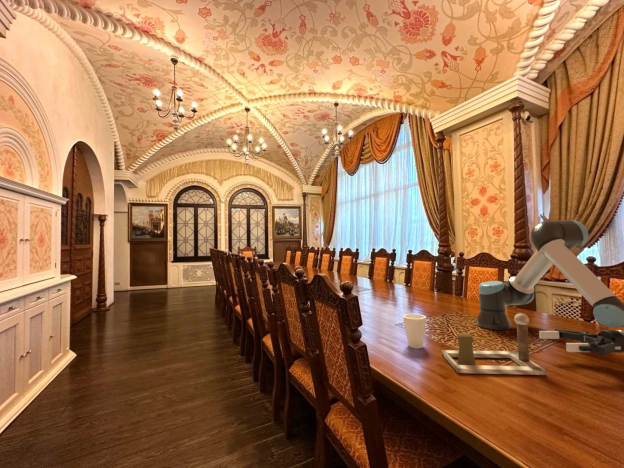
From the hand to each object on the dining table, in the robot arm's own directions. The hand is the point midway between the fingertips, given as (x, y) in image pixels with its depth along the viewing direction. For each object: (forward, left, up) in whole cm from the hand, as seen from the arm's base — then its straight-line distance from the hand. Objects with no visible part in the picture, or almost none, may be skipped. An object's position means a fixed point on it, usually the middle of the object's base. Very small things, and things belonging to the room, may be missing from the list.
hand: (552, 340), depth 102 cm
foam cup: (-38, -29, -9) cm, 49 cm away
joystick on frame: (-11, -19, -9) cm, 24 cm away
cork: (-15, -26, -9) cm, 31 cm away
